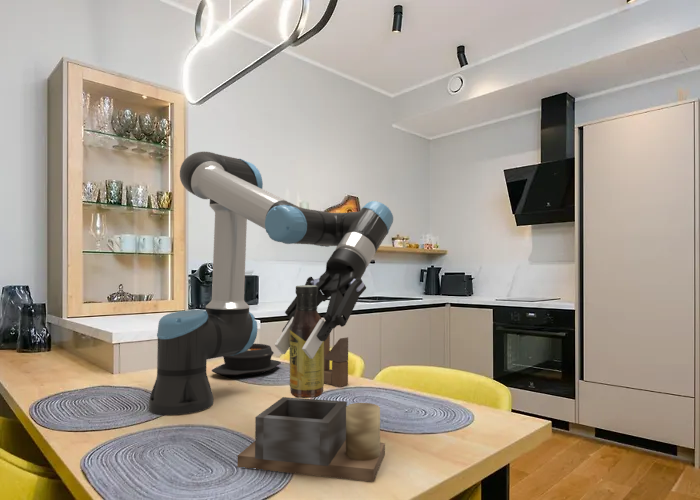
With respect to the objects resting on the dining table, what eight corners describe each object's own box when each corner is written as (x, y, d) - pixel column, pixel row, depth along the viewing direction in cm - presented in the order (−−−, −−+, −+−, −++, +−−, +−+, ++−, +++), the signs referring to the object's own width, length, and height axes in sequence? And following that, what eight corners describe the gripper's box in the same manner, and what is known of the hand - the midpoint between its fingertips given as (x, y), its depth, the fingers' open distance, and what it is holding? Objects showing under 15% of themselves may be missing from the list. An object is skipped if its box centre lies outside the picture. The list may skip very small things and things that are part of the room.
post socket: (236, 468, 82) (236, 409, 82) (265, 441, 95) (266, 390, 95) (373, 483, 76) (373, 420, 77) (385, 452, 89) (385, 398, 90)
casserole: (240, 383, 142) (240, 355, 142) (198, 375, 152) (198, 349, 152) (293, 369, 163) (293, 344, 163) (253, 363, 173) (254, 339, 173)
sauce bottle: (290, 391, 89) (289, 285, 90) (323, 390, 90) (323, 284, 90) (288, 400, 82) (288, 286, 83) (324, 399, 83) (324, 285, 84)
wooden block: (339, 387, 138) (340, 325, 138) (314, 381, 145) (315, 322, 146) (348, 385, 140) (348, 324, 141) (323, 379, 148) (324, 321, 148)
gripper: (397, 273, 93) (344, 371, 80) (323, 272, 105) (267, 358, 91) (381, 245, 89) (324, 343, 76) (307, 247, 101) (245, 333, 87)
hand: (293, 351), depth 84 cm, fingers closed on sauce bottle, 6 cm apart
